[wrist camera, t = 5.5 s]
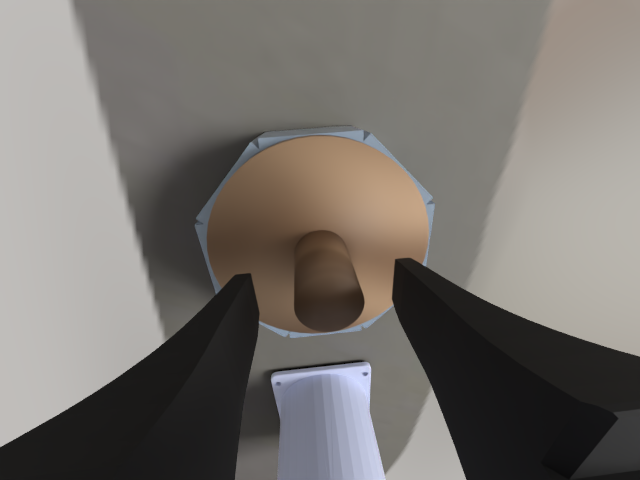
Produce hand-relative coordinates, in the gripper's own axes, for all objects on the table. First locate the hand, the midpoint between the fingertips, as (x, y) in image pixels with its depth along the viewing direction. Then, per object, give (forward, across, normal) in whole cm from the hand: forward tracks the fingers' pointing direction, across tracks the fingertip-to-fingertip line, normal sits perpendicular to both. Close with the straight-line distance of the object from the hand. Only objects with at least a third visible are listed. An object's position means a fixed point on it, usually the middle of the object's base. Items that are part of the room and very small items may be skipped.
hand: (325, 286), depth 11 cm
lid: (+3, 0, 0) cm, 3 cm away
